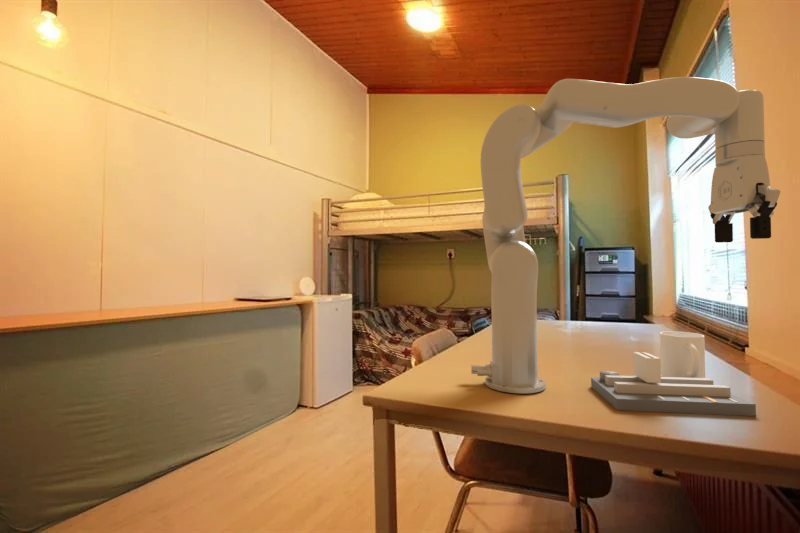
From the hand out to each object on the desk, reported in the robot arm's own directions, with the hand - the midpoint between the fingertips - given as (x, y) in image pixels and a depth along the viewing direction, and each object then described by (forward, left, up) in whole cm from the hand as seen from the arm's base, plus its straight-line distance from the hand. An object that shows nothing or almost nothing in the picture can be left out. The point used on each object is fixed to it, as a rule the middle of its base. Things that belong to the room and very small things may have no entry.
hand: (741, 240), depth 78 cm
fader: (-20, -6, -29) cm, 36 cm away
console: (-17, -6, -31) cm, 36 cm away
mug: (-6, +8, -31) cm, 33 cm away
